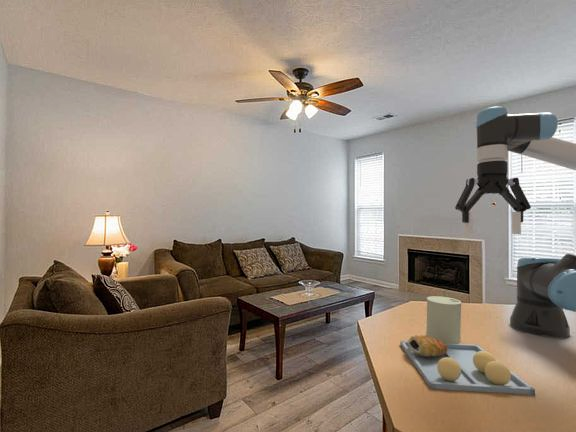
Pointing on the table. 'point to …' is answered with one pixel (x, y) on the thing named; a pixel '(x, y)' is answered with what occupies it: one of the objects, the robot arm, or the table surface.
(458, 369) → the ball far
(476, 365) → the ball
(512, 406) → the table surface
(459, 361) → the sorting tray
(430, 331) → the can
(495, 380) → the ball
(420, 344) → the pastry
